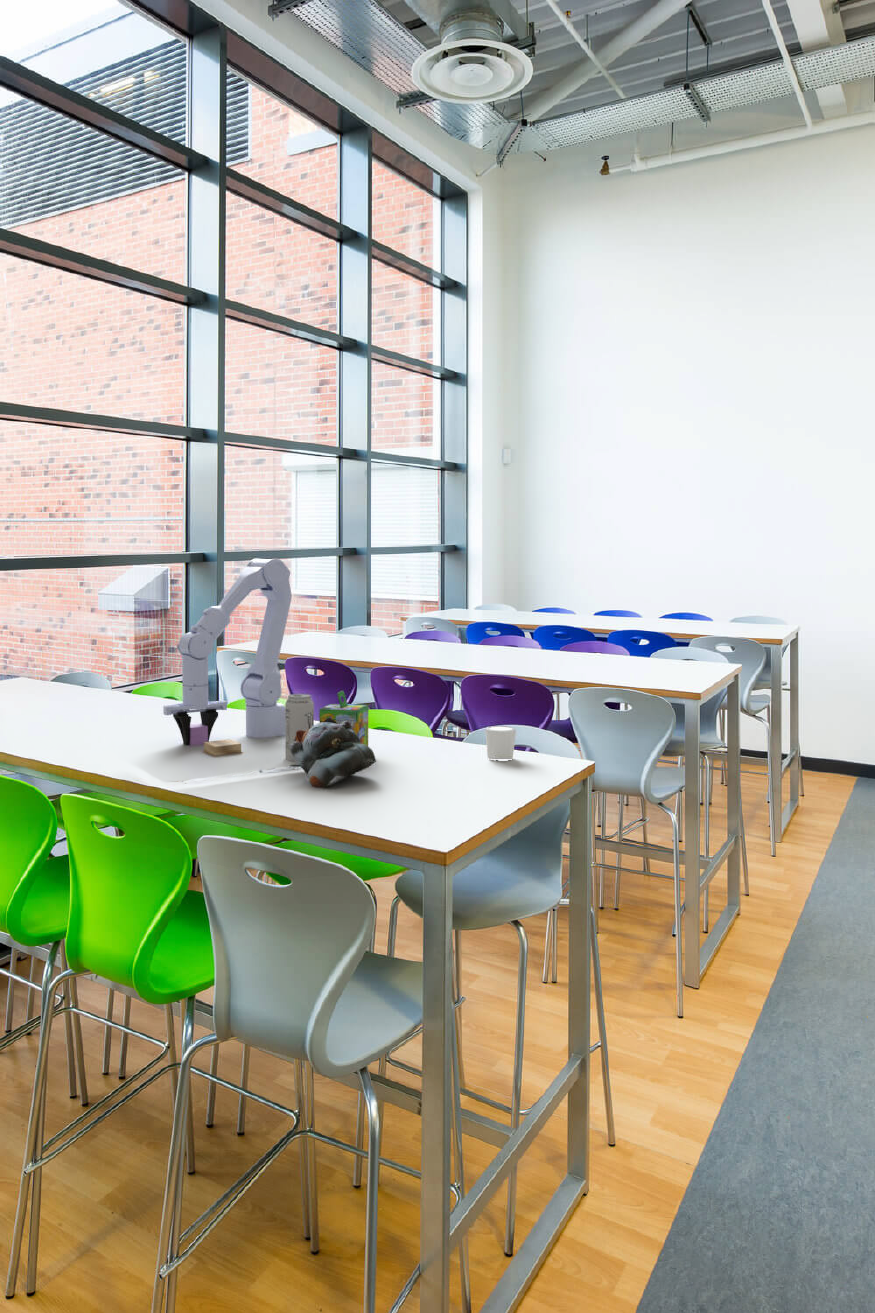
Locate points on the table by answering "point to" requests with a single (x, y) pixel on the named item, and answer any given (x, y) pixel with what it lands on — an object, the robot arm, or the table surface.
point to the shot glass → (500, 742)
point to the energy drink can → (297, 719)
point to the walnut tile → (218, 755)
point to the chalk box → (348, 716)
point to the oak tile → (222, 747)
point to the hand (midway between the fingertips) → (196, 743)
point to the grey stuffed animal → (330, 752)
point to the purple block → (198, 734)
